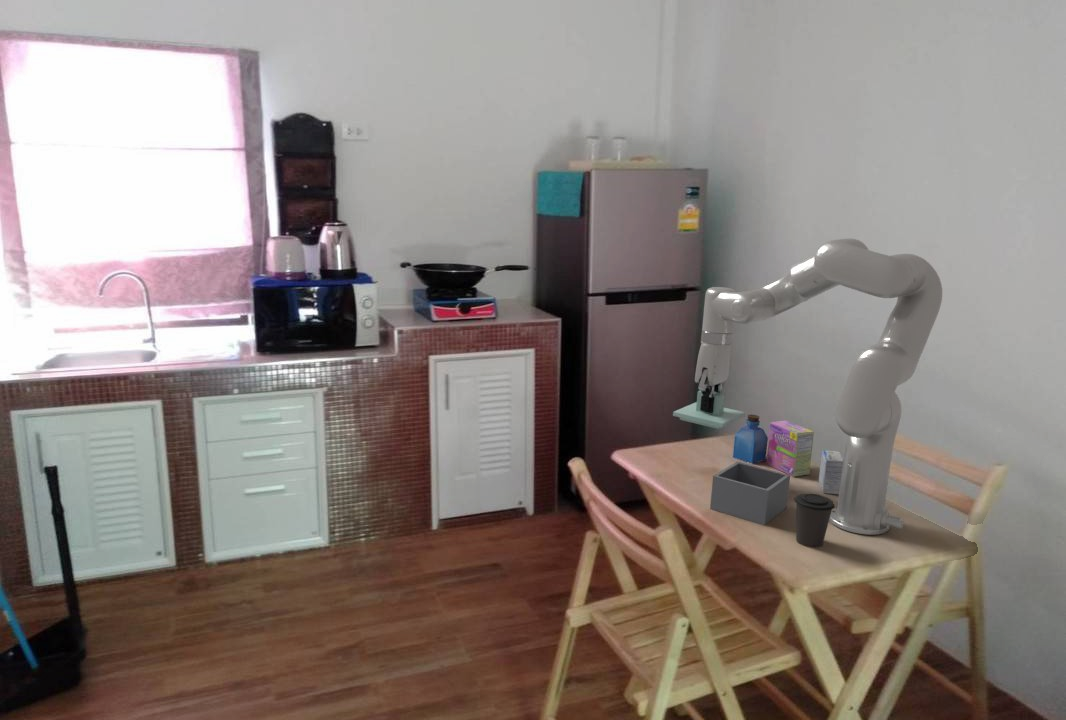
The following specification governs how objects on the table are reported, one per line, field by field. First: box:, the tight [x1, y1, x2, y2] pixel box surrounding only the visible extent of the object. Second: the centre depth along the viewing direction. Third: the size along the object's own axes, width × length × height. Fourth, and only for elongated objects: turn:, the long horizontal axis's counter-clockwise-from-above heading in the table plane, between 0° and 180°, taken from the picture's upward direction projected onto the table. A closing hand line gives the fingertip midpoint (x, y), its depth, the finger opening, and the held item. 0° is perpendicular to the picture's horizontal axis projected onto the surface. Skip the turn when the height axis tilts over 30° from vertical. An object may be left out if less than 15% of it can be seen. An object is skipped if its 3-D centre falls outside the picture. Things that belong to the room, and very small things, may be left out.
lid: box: [672, 389, 746, 430], centre depth 203 cm, size 13×13×7 cm
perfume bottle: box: [732, 414, 769, 464], centre depth 220 cm, size 6×6×12 cm
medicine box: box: [818, 450, 844, 496], centre depth 201 cm, size 8×4×9 cm, turn 168°
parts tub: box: [709, 461, 791, 526], centre depth 187 cm, size 13×13×8 cm
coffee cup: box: [793, 493, 836, 548], centre depth 170 cm, size 8×8×10 cm
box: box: [766, 419, 815, 478], centre depth 213 cm, size 10×6×12 cm, turn 25°
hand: (709, 409), depth 203 cm, fingers closed on lid, 3 cm apart
